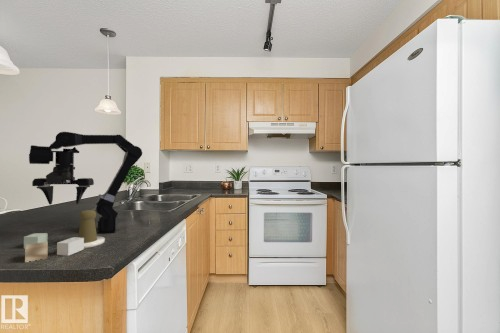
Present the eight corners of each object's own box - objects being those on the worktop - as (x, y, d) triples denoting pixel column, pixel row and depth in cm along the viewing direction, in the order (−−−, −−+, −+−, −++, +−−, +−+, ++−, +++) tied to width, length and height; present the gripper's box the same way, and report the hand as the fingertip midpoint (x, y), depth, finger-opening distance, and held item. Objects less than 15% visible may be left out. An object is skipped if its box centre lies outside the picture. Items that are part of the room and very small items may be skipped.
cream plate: (108, 238, 95) (108, 235, 95) (98, 247, 84) (98, 244, 84) (76, 239, 92) (76, 237, 92) (61, 249, 82) (61, 246, 82)
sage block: (47, 244, 87) (47, 233, 87) (37, 248, 83) (37, 236, 83) (34, 244, 87) (34, 233, 87) (23, 248, 82) (23, 236, 82)
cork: (78, 239, 90) (78, 209, 90) (97, 237, 92) (98, 208, 92) (76, 244, 84) (76, 212, 84) (96, 241, 87) (97, 211, 87)
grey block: (73, 248, 83) (73, 237, 83) (83, 249, 82) (83, 237, 82) (57, 255, 77) (57, 242, 77) (68, 256, 76) (68, 243, 76)
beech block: (47, 254, 78) (47, 241, 78) (47, 258, 74) (47, 245, 74) (26, 257, 74) (26, 244, 74) (25, 262, 71) (25, 249, 71)
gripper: (22, 163, 85) (21, 208, 85) (82, 164, 90) (82, 206, 90) (41, 164, 96) (41, 203, 96) (94, 164, 100) (93, 202, 100)
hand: (64, 204), depth 95 cm, fingers open, 9 cm apart
